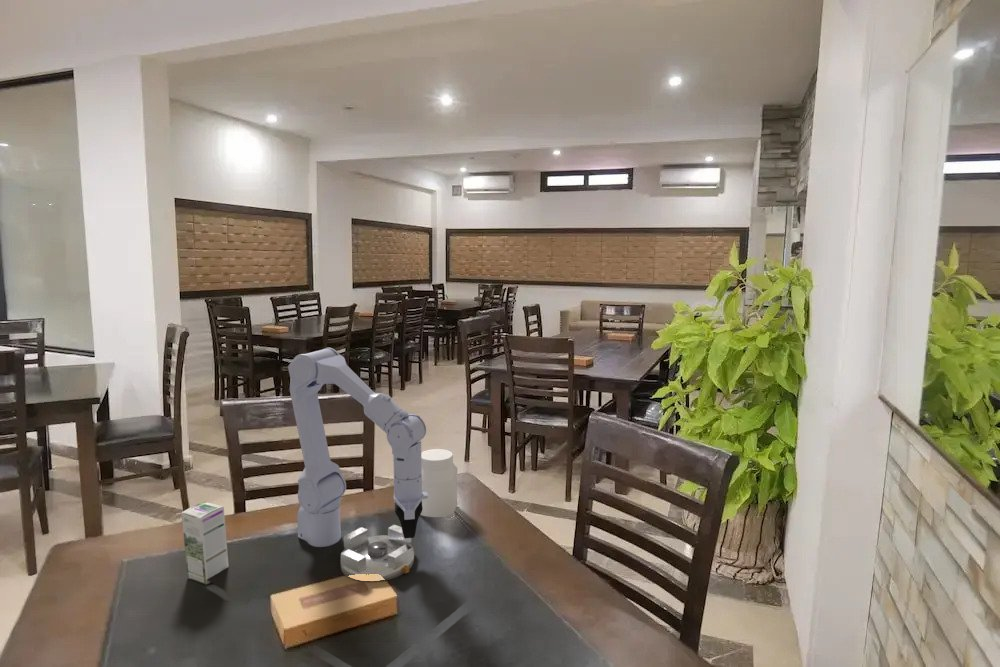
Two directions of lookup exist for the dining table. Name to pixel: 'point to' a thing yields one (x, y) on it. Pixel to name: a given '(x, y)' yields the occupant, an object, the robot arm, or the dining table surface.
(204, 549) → the syrup box
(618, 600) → the dining table surface
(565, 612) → the dining table surface
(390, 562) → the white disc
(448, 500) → the jar
